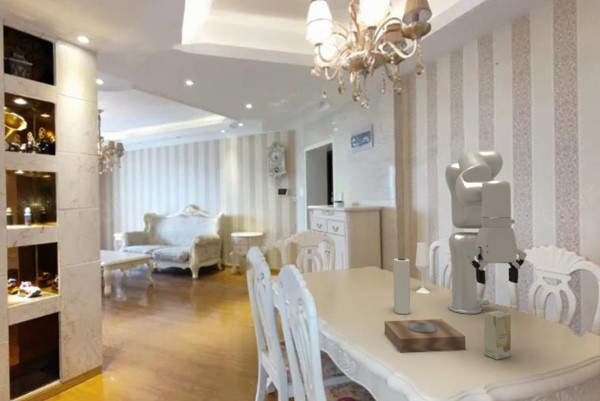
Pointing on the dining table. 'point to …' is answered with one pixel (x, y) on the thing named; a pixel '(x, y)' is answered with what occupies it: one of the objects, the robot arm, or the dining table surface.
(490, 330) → the skincare box
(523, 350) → the dining table surface
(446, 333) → the walnut stand
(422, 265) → the champagne flute
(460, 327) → the dining table surface
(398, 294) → the paper towel roll
